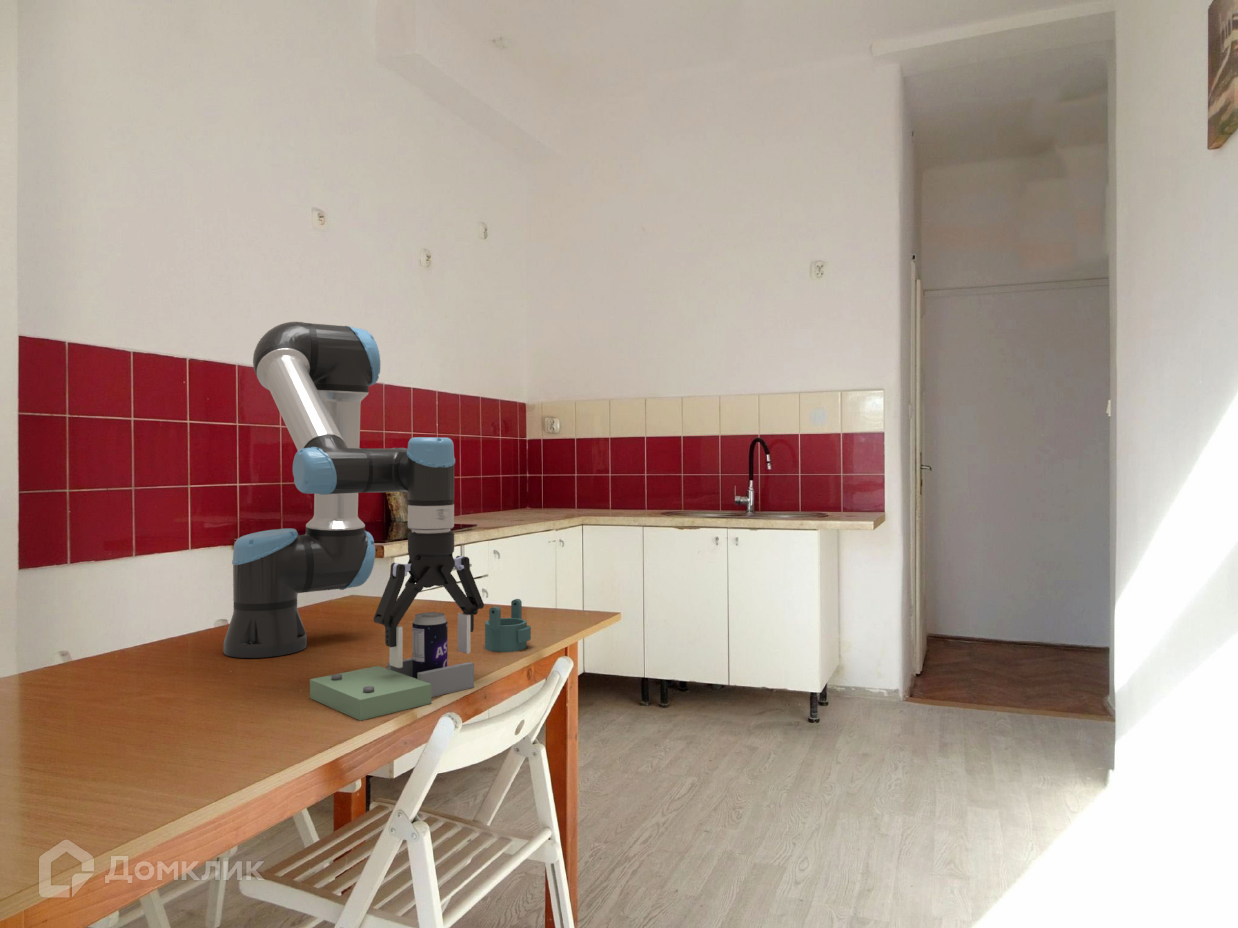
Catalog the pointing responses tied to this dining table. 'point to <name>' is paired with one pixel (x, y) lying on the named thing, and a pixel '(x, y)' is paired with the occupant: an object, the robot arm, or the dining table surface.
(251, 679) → the dining table surface
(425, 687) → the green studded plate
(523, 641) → the bracket
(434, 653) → the beverage can
